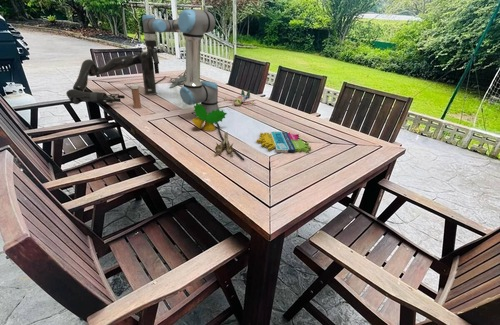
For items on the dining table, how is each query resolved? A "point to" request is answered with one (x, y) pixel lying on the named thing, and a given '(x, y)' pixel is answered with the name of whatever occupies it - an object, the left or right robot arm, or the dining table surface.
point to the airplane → (178, 80)
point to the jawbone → (224, 145)
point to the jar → (136, 98)
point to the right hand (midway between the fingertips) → (154, 71)
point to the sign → (283, 142)
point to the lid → (134, 86)
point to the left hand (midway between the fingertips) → (122, 98)
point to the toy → (241, 99)
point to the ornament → (207, 117)
